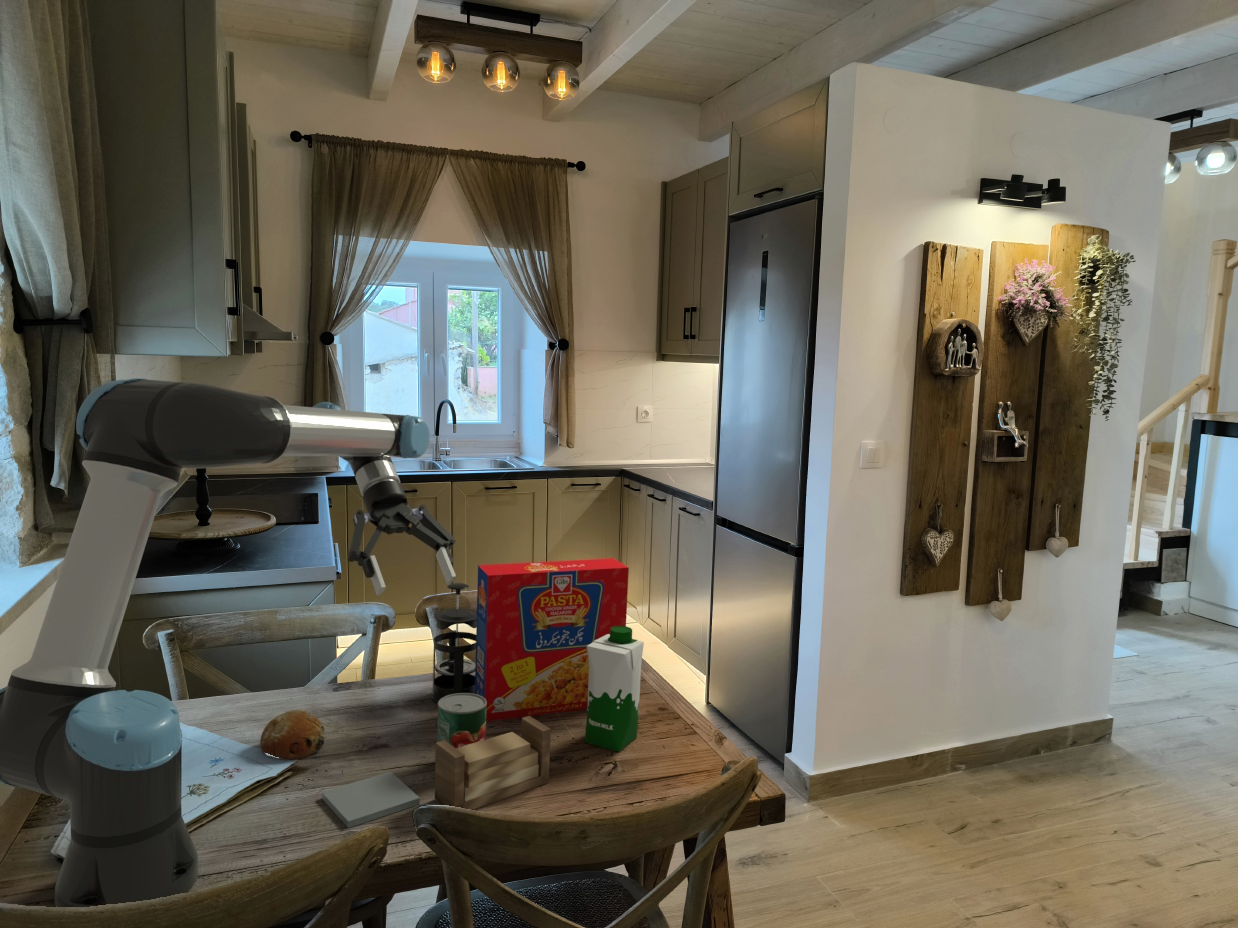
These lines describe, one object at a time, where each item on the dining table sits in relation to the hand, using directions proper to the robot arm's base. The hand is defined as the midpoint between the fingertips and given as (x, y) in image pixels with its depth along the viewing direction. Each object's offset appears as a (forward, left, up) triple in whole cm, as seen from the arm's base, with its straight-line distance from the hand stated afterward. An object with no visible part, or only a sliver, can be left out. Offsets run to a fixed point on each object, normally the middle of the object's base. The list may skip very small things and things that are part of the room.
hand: (417, 585), depth 146 cm
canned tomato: (0, -17, -27) cm, 32 cm away
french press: (+13, +9, -27) cm, 31 cm away
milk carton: (+26, -24, -27) cm, 44 cm away
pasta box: (+26, -5, -27) cm, 38 cm away
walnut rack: (0, -27, -26) cm, 38 cm away
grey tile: (-17, -19, -26) cm, 37 cm away
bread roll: (-20, +5, -27) cm, 34 cm away
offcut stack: (0, -27, -25) cm, 37 cm away
